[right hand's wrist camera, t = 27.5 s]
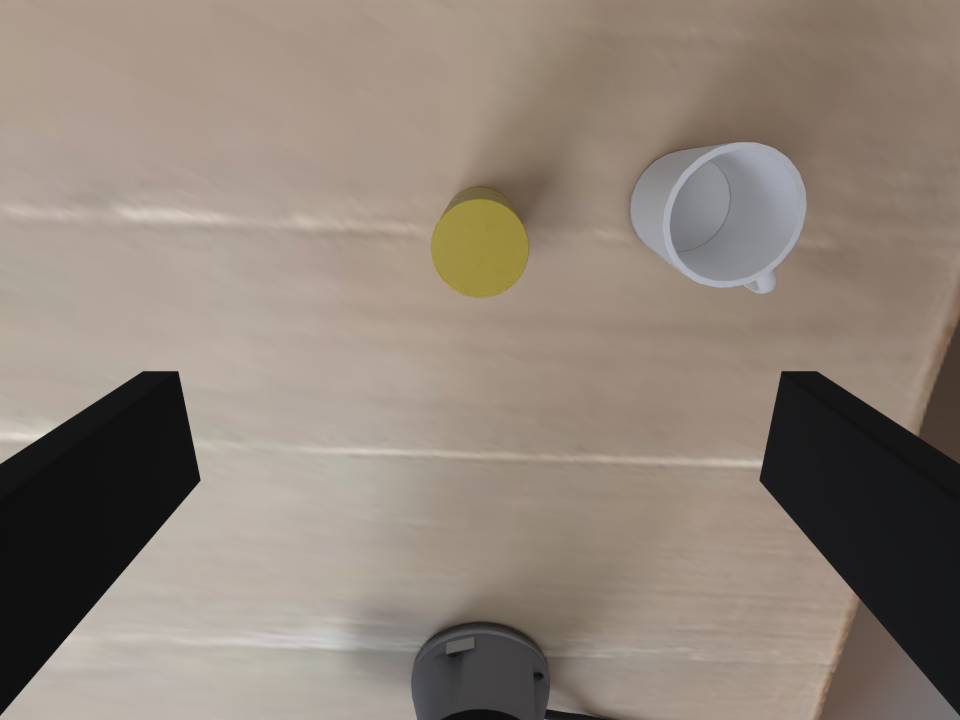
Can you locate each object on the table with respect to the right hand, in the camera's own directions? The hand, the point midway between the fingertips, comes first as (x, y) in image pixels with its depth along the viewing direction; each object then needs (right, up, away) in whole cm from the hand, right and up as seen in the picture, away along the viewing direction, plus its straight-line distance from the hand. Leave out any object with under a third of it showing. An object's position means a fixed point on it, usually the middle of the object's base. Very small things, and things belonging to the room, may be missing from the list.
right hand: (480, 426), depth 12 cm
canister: (0, +12, +33) cm, 35 cm away
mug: (+17, +13, +33) cm, 39 cm away
